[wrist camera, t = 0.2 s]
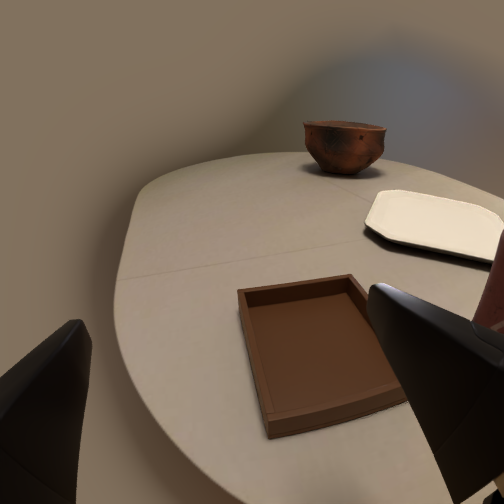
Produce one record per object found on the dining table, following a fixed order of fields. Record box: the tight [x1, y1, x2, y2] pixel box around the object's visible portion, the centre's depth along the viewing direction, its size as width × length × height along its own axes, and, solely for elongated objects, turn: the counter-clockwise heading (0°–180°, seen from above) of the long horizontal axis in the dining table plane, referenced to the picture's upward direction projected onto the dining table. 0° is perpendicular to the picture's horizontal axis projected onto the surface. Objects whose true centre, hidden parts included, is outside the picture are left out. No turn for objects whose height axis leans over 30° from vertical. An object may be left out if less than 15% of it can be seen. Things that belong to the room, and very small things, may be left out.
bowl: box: [303, 121, 387, 174], centre depth 85 cm, size 25×25×15 cm
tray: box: [237, 274, 408, 439], centre depth 25 cm, size 15×12×3 cm
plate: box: [364, 190, 504, 264], centre depth 47 cm, size 29×29×2 cm
